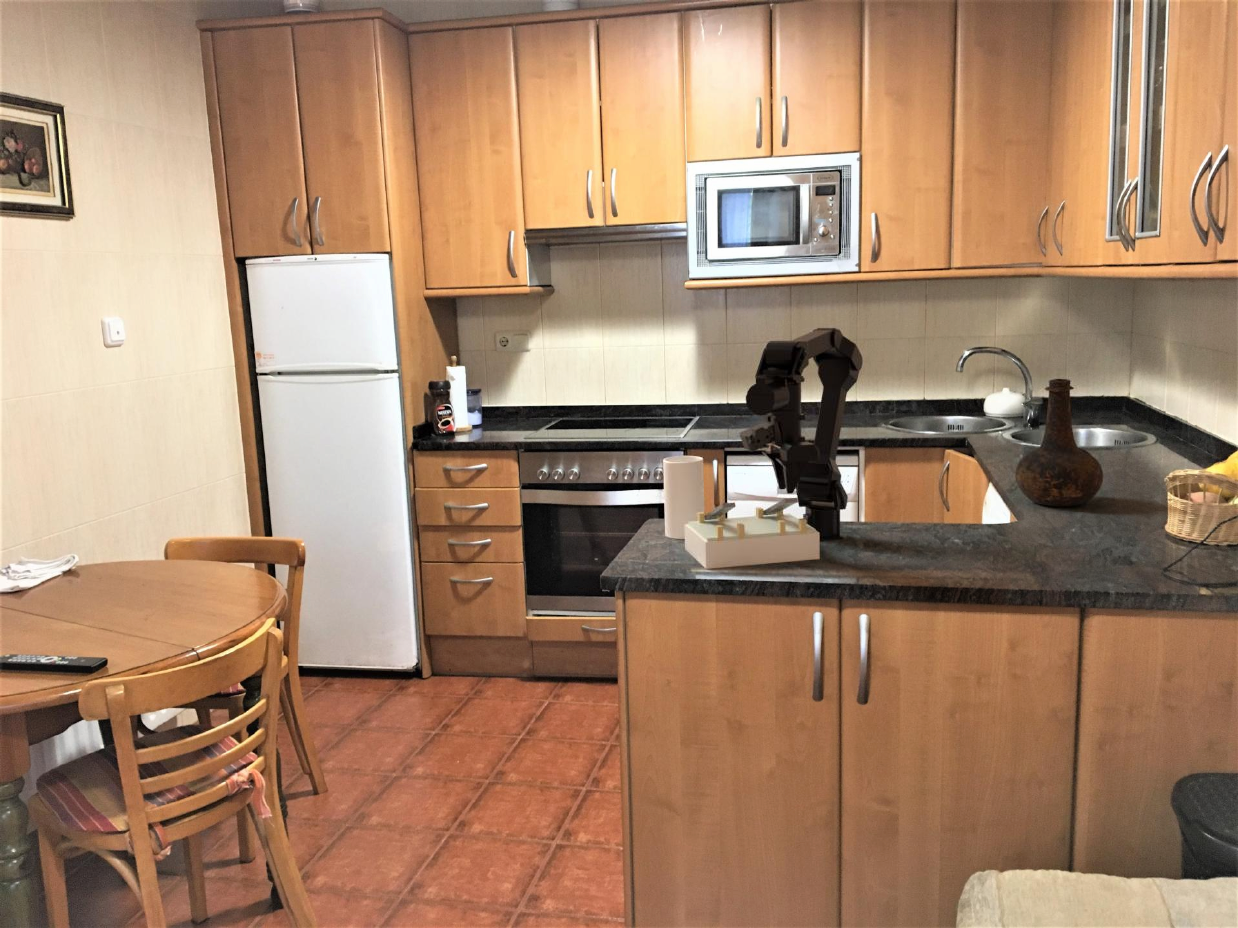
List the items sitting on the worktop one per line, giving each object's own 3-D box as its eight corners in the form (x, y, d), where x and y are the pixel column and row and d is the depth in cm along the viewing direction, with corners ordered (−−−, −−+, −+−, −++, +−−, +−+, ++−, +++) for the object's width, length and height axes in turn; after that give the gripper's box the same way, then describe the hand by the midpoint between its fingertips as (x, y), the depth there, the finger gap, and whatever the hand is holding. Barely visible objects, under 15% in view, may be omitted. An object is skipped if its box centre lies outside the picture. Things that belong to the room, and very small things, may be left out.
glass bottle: (1119, 506, 224) (1126, 379, 219) (1056, 515, 218) (1062, 385, 213) (1057, 492, 240) (1062, 374, 236) (997, 500, 234) (1001, 379, 229)
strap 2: (763, 515, 201) (762, 510, 201) (774, 514, 202) (774, 509, 202) (785, 503, 188) (784, 498, 188) (797, 502, 189) (796, 497, 189)
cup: (672, 540, 207) (670, 463, 204) (660, 531, 215) (658, 457, 212) (710, 536, 209) (708, 460, 206) (696, 528, 217) (695, 454, 214)
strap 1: (704, 520, 199) (704, 515, 199) (716, 519, 199) (715, 514, 200) (723, 508, 186) (722, 502, 186) (735, 507, 186) (734, 501, 187)
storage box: (790, 539, 204) (790, 503, 203) (819, 558, 190) (819, 519, 189) (685, 548, 200) (684, 511, 199) (706, 568, 186) (705, 528, 185)
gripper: (728, 405, 196) (730, 485, 198) (760, 417, 177) (761, 504, 180) (783, 402, 198) (784, 481, 200) (820, 413, 180) (820, 499, 182)
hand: (786, 491), depth 191 cm, fingers open, 4 cm apart
